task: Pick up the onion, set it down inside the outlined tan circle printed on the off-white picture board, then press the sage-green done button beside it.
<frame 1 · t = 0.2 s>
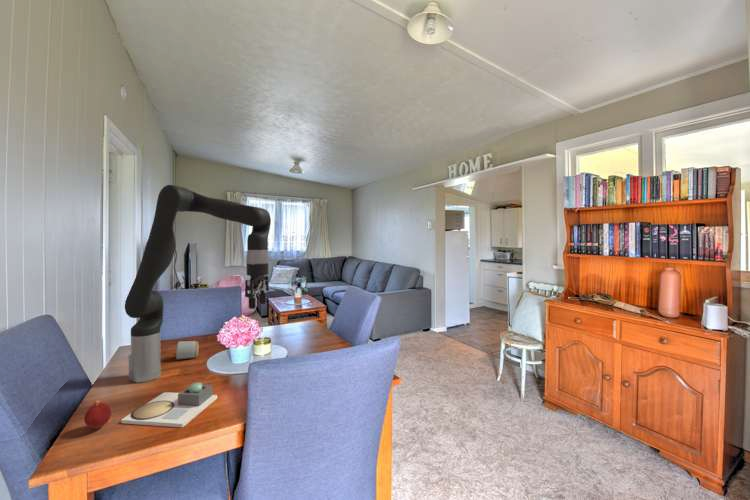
hand: (257, 306, 118), 29 cm above the table, tool pointing down, fingers open, 8 cm apart
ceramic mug: (187, 357, 145), on the table
onion: (98, 429, 90), on the table
picture board: (172, 409, 101), on the table
done button: (195, 389, 105), point 5 cm above the table, slide at 0.0 cm
done button housing: (195, 403, 105), resting on picture board
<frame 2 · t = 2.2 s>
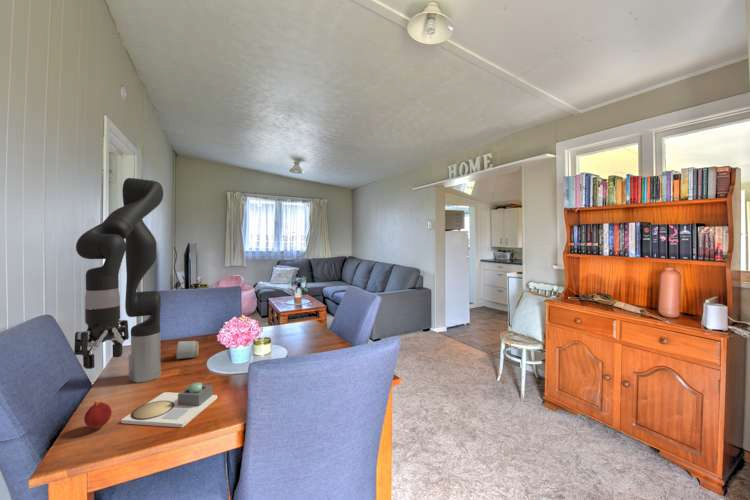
hand: (103, 362, 91), 19 cm above the table, tool pointing down, fingers open, 8 cm apart
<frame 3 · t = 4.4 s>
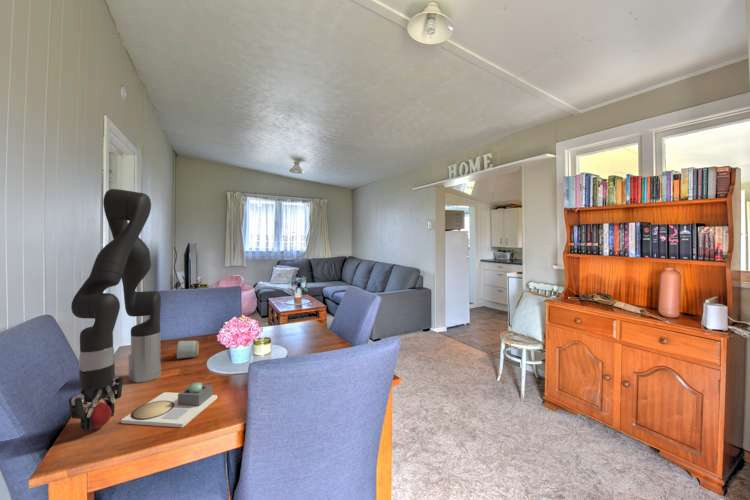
hand: (98, 422, 90), 2 cm above the table, tool pointing down, fingers closed on onion, 6 cm apart
onion: (98, 429, 90), on the table, touching gripper
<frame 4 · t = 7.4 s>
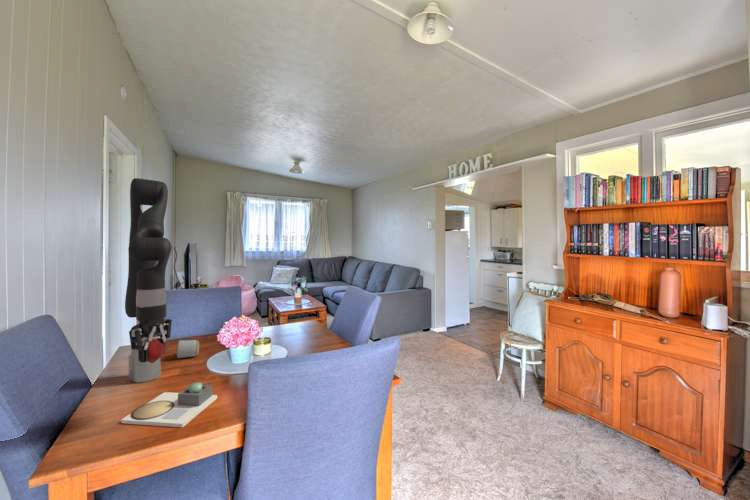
hand: (152, 357, 98), 17 cm above the table, tool pointing down, fingers closed on onion, 6 cm apart
onion: (152, 363, 98), point 15 cm above the table, touching gripper
when the fingers open (4 cm above the table, at t = 10.3 s): onion drops 1 cm, resting on picture board.
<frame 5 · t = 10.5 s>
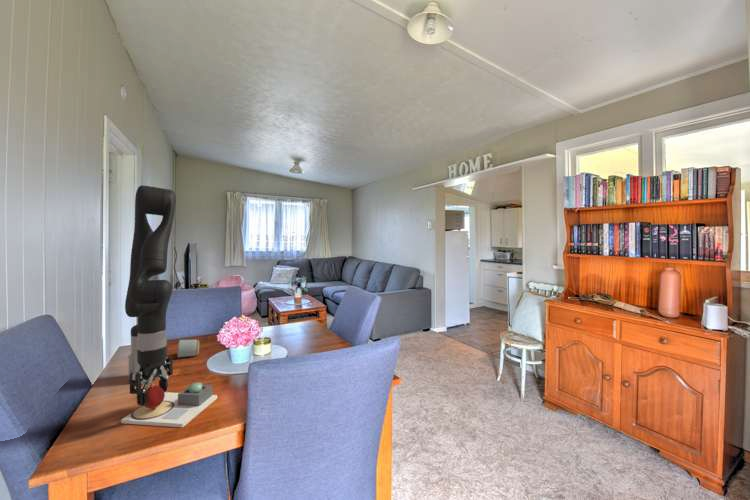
hand: (153, 398, 98), 5 cm above the table, tool pointing down, fingers open, 8 cm apart
onion: (153, 409, 99), point 1 cm above the table, touching picture board
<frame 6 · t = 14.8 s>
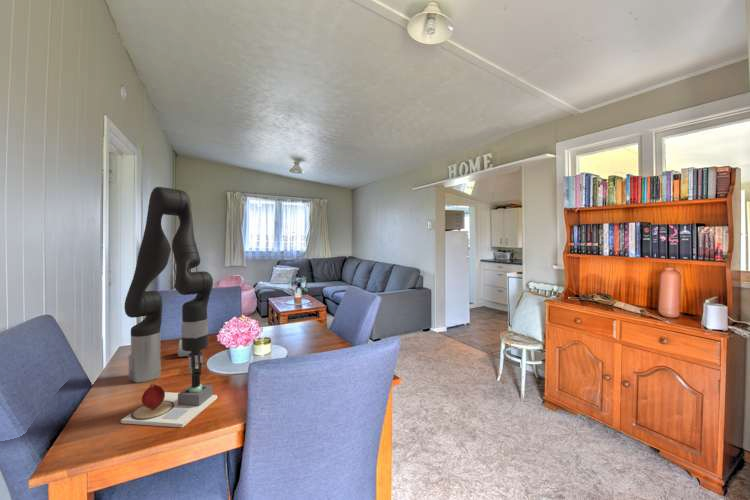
hand: (195, 386, 104), 6 cm above the table, tool pointing down, fingers closed
done button: (195, 390, 105), point 4 cm above the table, slide at 0.4 cm, touching gripper
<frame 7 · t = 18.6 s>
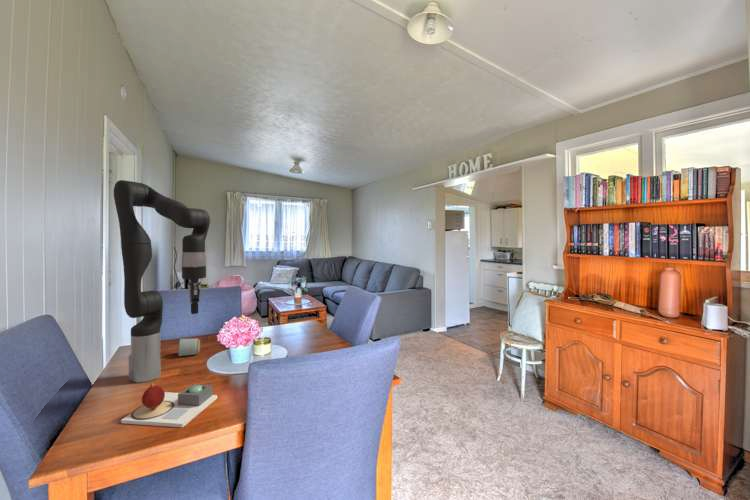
hand: (194, 313, 114), 27 cm above the table, tool pointing down, fingers closed
done button: (195, 392, 105), point 4 cm above the table, slide at 0.9 cm
at the end: onion 0.2 cm from the target spot on the picture board, point 1.0 cm above the picture board's base; onion touching picture board; done button slide at 0.9 cm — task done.
